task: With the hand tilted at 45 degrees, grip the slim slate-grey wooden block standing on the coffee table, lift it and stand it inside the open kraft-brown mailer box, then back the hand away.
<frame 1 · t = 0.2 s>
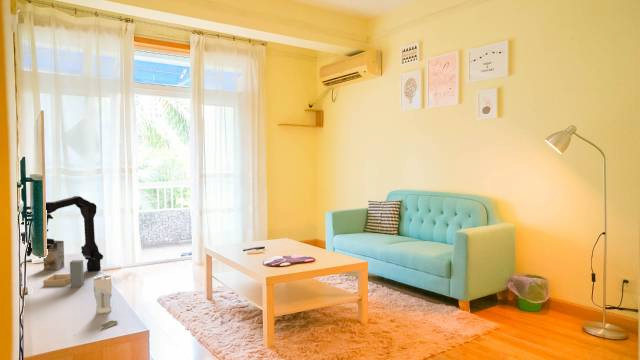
hand: (34, 257, 220), 15 cm above the table, tool tilted 15°, fingers open, 9 cm apart
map: (92, 332, 167), on the table
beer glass: (103, 312, 187), on the table
coffee box: (54, 268, 256), on the table
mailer: (59, 282, 228), on the table
slate block: (77, 286, 223), on the table
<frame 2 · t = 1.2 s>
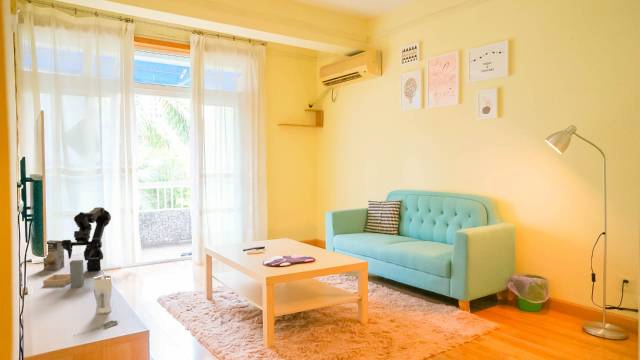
hand: (79, 257, 228), 13 cm above the table, tool tilted 45°, fingers open, 9 cm apart
nothing on the table moved.
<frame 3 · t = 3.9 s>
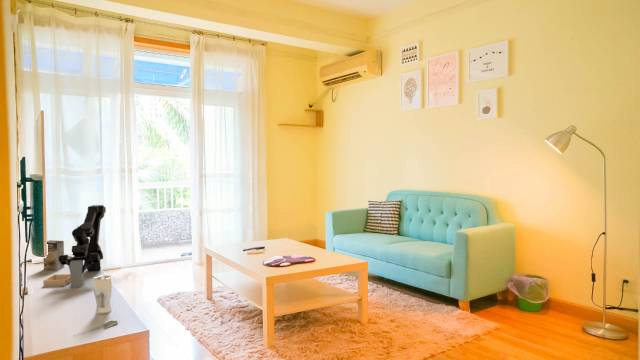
hand: (76, 273, 222), 7 cm above the table, tool tilted 45°, fingers closed on slate block, 5 cm apart
slate block: (77, 286, 223), on the table, touching gripper
everything else where it was.
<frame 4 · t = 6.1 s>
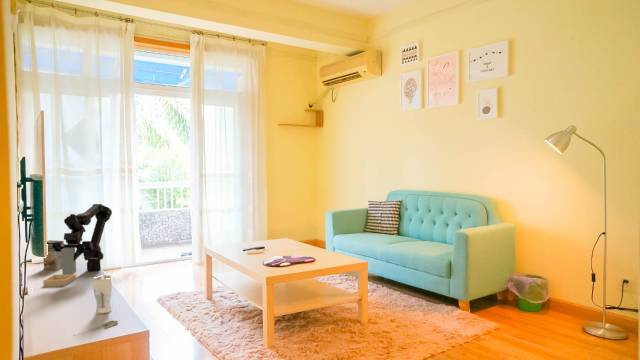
hand: (68, 260, 223), 13 cm above the table, tool tilted 45°, fingers closed on slate block, 5 cm apart
slate block: (69, 273, 224), point 6 cm above the table, touching gripper
everything else where it was.
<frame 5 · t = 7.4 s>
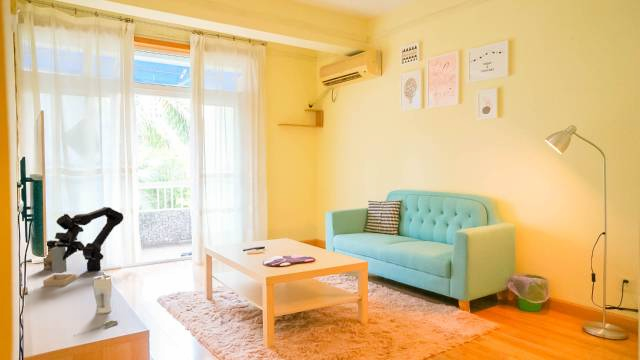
hand: (58, 259, 227), 13 cm above the table, tool tilted 45°, fingers closed on slate block, 5 cm apart
slate block: (59, 272, 228), point 6 cm above the table, touching gripper
everything else where it was.
when the fingers open (9 cm above the table, at t = 8.6 s): slate block drops 1 cm, resting on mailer.
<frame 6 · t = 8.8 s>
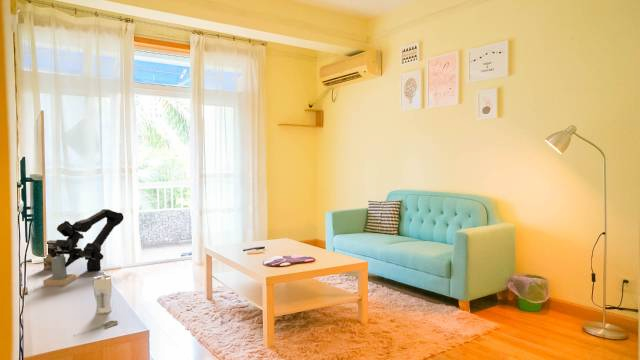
hand: (58, 266, 227), 9 cm above the table, tool tilted 45°, fingers open, 7 cm apart
slate block: (60, 281, 228), point 1 cm above the table, touching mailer
everything else where it was.
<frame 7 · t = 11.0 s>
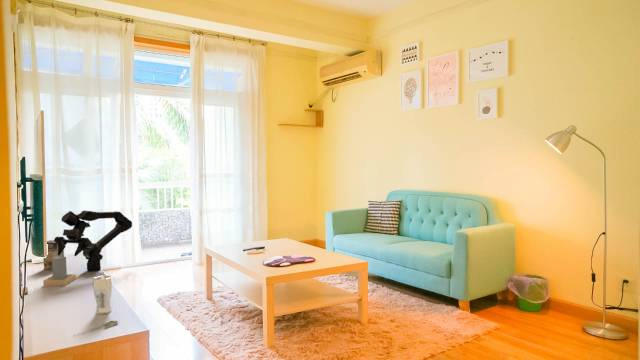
hand: (66, 255, 233), 13 cm above the table, tool tilted 40°, fingers open, 9 cm apart
nothing on the table moved.
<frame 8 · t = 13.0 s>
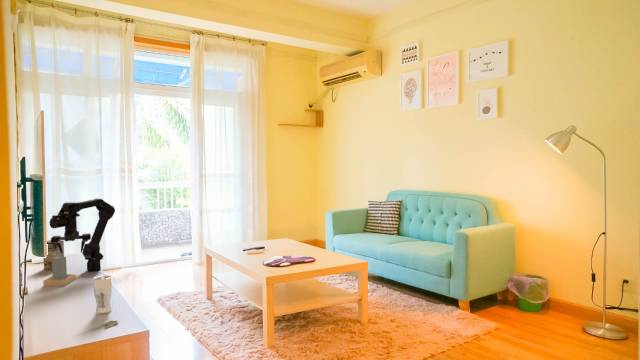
hand: (71, 253, 238), 13 cm above the table, tool pointing down, fingers open, 9 cm apart
nothing on the table moved.
at the end: slate block 0.1 cm off-centre on the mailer, point 0.5 cm above the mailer's base; slate block tilted 0°; the gripper is holding nothing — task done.
